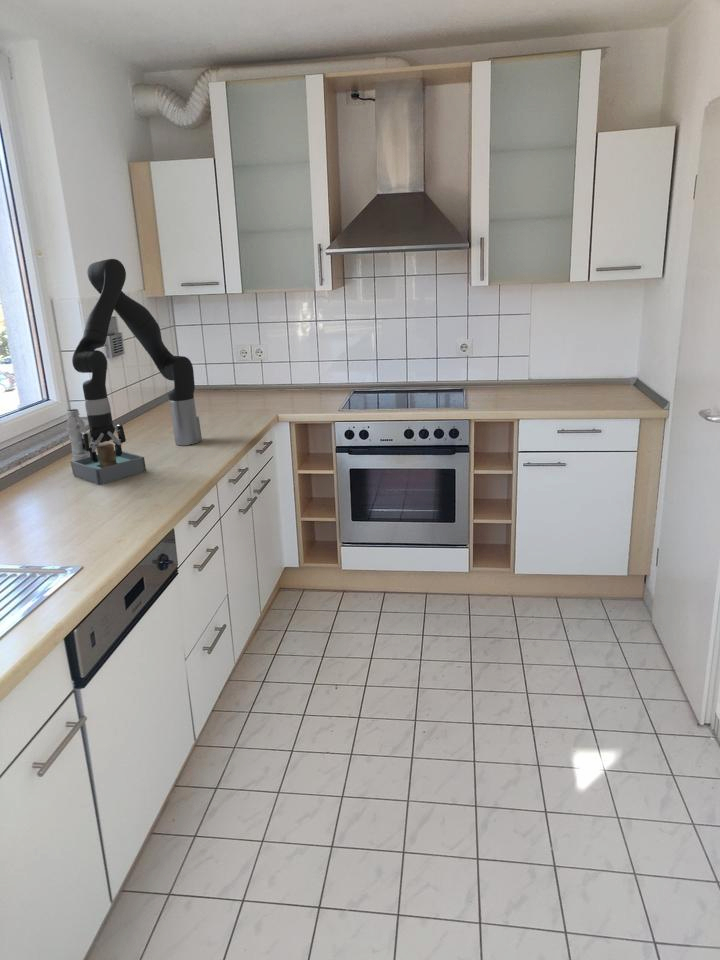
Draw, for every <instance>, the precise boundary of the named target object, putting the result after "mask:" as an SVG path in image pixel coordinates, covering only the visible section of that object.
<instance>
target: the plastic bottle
mask: <svg viewBox="0 0 720 960" xmlns="http://www.w3.org/2000/svg"><path fill="white" fill-rule="evenodd" d="M67 417H68V419H67V420H66V424H65V429H66V431H67V435H68V436H69V441H70V445H71V461H75V460H79V459H82V458H86V457H90V452H89V451H88V452H87V451H84V450H83V448H82V440H81V433H87V432H86V430H87V429H86V422H85V421H84V419H83V418H82V417H80V411H79V409H78V408H72V409H68V410H67Z"/></svg>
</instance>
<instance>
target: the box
mask: <svg viewBox="0 0 720 960" xmlns="http://www.w3.org/2000/svg"><path fill="white" fill-rule="evenodd" d="M114 451H115V449H114ZM115 457H116V463H117V464H114V465H111V466H107V467H104V468H101V467H100V463H99V457H98V454H97V460H98V462H97V463H95V462H93V461H91V458H90V457H86V458H82V459H79V460H75V461H72V460H71V461H70V465H71V469H72V476H73V475H74V476H73V477H76V478H78V477H79V479H81V480H84V481H87V482H90V483H92V482H93V484H95V483H96V484H95V485H98V484H99V485H98V486H101V485H103V483H104V484H108V483H111V482H113V481H114V480H115V481H117V479H118V480H121V479H120V478H122V479H125V478H128V477H131V476H130V475H132V476H134V474H135V475H139V474H142V473H145V472H144V471H146V472H147V467H146V462H145V461H146V460H145V456H142V455H139V454H138V455H137V454H135V453H131V452H127V451H125V450H124V451H123V450H122V454H121V456H117V455H116V451H115ZM141 472H142V473H141ZM138 473H139V474H138ZM127 476H128V477H127ZM124 477H125V478H124ZM110 481H111V482H110ZM115 481H114V482H115ZM107 482H108V483H107ZM100 484H101V485H100Z"/></svg>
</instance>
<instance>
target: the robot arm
mask: <svg viewBox="0 0 720 960" xmlns="http://www.w3.org/2000/svg"><path fill="white" fill-rule="evenodd" d="M86 271H87V272H86V274H87V278H88V280H89V283H90V284H91V285H92V287H93V288H94V289H95V290H96V291H97V292H98V294H100V295H99V297H98V299H97V301H96V303H95V304H94V305H93V307H92V308H91V310H90V312H89V314H88V315H87V318H86V321H85V326H84V330H83V334H82V337H81V339H80V341H79V342H78V345H77V346H76V348H75V350H74V351H73V355H72V363H71V364H72V366H73V368H74V370H75V371H76V372H78V373H82V374H84V373H85V374H86V373H87V374H89V373H90V374H92V376H91V379H88V380H85V381H83V383H82V389H83V397H84V404H85V405H84V406H85V412H86V417H87V422H88V428H89V431H88V432H86V433H81V440H82V448H83V450H84V451H87V452H88V451H89V452H90V458H91V461H93V462H95V463H97V462H98V460H97V455H98V453H97V446H98V445H100V444H104V443H106V442H110V441H111V442H112V444H113V443H114V450H115V451H116V455H117V456H121V454H122V451H123V449H122V444H123V443H126V441H127V439H126V435H125V430H124V427H123V425H122V424H116V425H115V426H114V423H113V421H114V420H113V416H112V411H111V409H112V408H111V403H110V399H109V398H108V392H107V391H108V390H107V386H106V383H107V371H108V360H107V357H106V355H105V353H103V352H102V351H100V350H97V349H99V348H102V347H104V346H105V344H106V341H107V337H108V332H109V327H110V324H111V319H112V316H113V314H114V311H115V312H116V313H117V315H118V316H119V317H120V319H121V320H122V321H123V323H125V325H126V326H127V328H128V329H129V331H130V332H131V333H132V335H133V336H134V337H135V339H137V340H138V341H139V343H140V344H141V346H142V347H143V348H144V350H145V352H147V354H148V355H149V356H150V359H152V361H153V363H154V365H155V366H156V368H157V369H158V371H159V373H160V375H161V376H162V377H163V378H165V379H166V380H169V381H173V385H174V387H173V389H172V390H171V391H169V392H168V396H167V397H168V402H169V407H170V408H169V410H170V416H171V421H172V429H173V436H174V442H175V445H177V446H191V445H190V444H192V445H195V443H196V444H198V443H200V442H202V441H203V437H202V430H201V423H200V417H199V416H197V410H196V409H197V408H196V403H195V401H196V400H195V394H194V393H195V389H196V388H195V387H196V386H195V384H196V383H195V374H194V367H193V363H192V361H191V360H190V358H188V357H186V356H183V355H173V354H172V353H171V352H170V351H169V350H168V348H167V347H166V345H165V344H164V342H163V339H162V333H161V328H160V325H159V323H158V322H157V320H156V319H155V318H154V316H153V315H152V313H151V312H150V310H148V308H146V307H145V306H144V305H142V304H141V303H139V302H137V301H136V300H134V299H133V298H131V297H129V296H128V295H127V294H126V293H124V291H123V287H124V286H125V281H126V278H127V271H126V268H125V266H124V264H123V263H122V261H120V260H119V259H116V258H109V259H103V260H100V261H96V262H95V261H94V262H93V263H90V264H89V265H88V267H87V270H86ZM115 432H117V437H118V438H117V437H116V435H114V433H115ZM90 437H91V440H89V439H90ZM89 441H90V442H89ZM199 441H200V442H199Z"/></svg>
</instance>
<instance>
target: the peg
mask: <svg viewBox="0 0 720 960" xmlns="http://www.w3.org/2000/svg"><path fill="white" fill-rule="evenodd" d="M114 450H115V445H114V444H113V443H109V442H104V443H100V444H99V445H98V446H97V448H96V453H97V455H98V457H99V463H100V467H101V468H104V467H107V466H111V465H114V464H117V463H116V457H115V451H114Z"/></svg>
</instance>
